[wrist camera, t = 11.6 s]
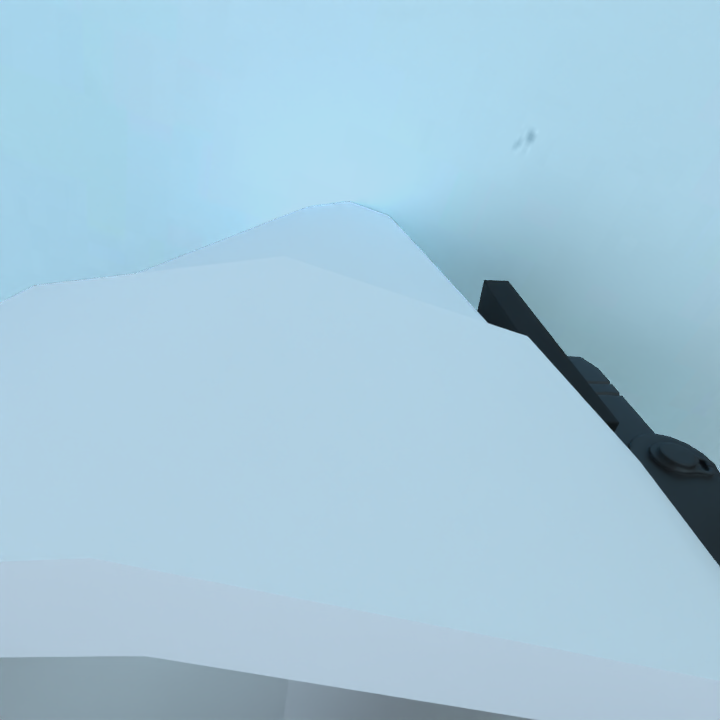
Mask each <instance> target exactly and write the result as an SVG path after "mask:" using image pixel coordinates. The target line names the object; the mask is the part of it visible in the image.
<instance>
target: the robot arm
mask: <svg viewBox="0 0 720 720" xmlns="http://www.w3.org/2000/svg"><path fill="white" fill-rule="evenodd" d="M477 312H478V313H479V314H480V315H481V316H482V317H483V318H484V319H485V320H486V321H487V323H489V324H492V325H495V326H498V327H501V328H504V329H507V330H510V331H513V332H516V333H519V334H522V335H525V336H528V337H529V338H530V339H531V341H532V342H533V343H534V344H535V345H536V346H537V347H538V348H539V349H540V351H541V352H542V353H543V354H544V355H545V356H546V357H547V358H548V359H549V361H550V362H551V363H552V364H553V365H554V366H555V367H556V368H557V369H558V371H559V372H560V373H561V374H562V375H563V376H564V377H565V378H566V380H567V381H568V382H569V383H570V384H571V385H572V386H573V387H574V388H575V390H576V391H577V392H578V393H579V394H580V395H581V396H582V397H583V398H584V400H585V401H586V402H587V403H588V404H589V405H590V406H591V407H592V409H593V410H594V411H595V412H596V413H597V414H598V415H599V416H600V417H601V419H602V420H603V421H604V422H605V423H606V424H607V425H608V426H609V427H610V429H611V430H612V431H613V432H614V433H615V434H616V435H617V436H618V438H619V439H620V440H621V441H622V442H623V443H624V444H625V445H626V446H627V448H628V449H629V450H630V451H631V452H632V453H633V454H634V455H635V456H636V458H637V459H638V460H639V461H640V462H641V464H642V465H643V466H644V468H645V469H646V470H647V471H648V473H649V474H650V475H651V477H652V478H653V479H654V481H655V482H656V483H657V485H658V486H659V487H660V489H661V490H662V491H663V493H664V494H665V495H666V497H667V498H668V499H669V501H670V502H671V503H672V504H673V506H674V507H675V508H676V510H677V511H678V512H679V514H680V515H681V516H682V518H683V519H684V520H685V522H686V523H687V524H688V526H689V527H690V528H691V530H692V531H693V532H694V533H695V535H696V536H697V537H698V539H699V540H700V541H701V543H702V544H703V545H704V547H705V548H706V549H707V551H708V552H709V553H710V555H711V556H712V557H713V559H714V560H715V561H716V562H717V564H718V565H719V566H720V473H719V471H718V469H717V467H716V466H715V464H714V463H713V462H711V461H710V460H709V459H708V458H707V457H706V456H705V455H704V454H703V453H701V452H700V451H698V450H696V449H695V448H693V447H691V446H690V445H688V444H686V443H684V442H681V441H679V440H677V439H674V438H672V437H668V436H664V435H659V434H655V433H654V432H653V431H652V430H651V429H650V427H649V426H648V425H647V424H646V423H645V422H644V421H643V419H642V418H641V417H640V416H639V415H638V414H637V412H636V411H635V410H634V409H633V408H632V407H631V406H630V404H629V403H628V402H627V401H626V400H625V399H624V398H623V396H620V395H619V392H618V391H617V389H616V388H615V387H614V386H613V385H611V384H610V381H609V380H608V379H607V378H606V377H605V376H604V375H603V373H602V372H601V371H600V370H599V369H598V368H597V367H595V366H594V365H592V364H591V363H589V362H587V361H586V360H584V359H583V358H581V357H571V356H567V355H566V354H565V353H564V352H563V350H562V349H561V348H560V346H559V345H558V344H557V343H556V341H555V340H554V339H553V338H552V336H551V335H550V334H549V332H548V331H547V330H546V329H545V327H544V326H543V325H542V324H541V322H540V321H539V320H538V318H537V317H536V316H535V315H534V313H533V312H532V311H531V310H530V308H529V307H528V306H527V304H526V303H525V302H524V301H523V299H522V298H521V297H520V296H519V294H518V293H517V292H516V290H515V289H514V288H513V287H512V285H511V284H510V283H509V282H508V281H492V280H484V284H483V288H482V293H481V298H480V302H479V307H478V311H477Z"/></svg>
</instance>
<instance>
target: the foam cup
mask: <svg viewBox="0 0 720 720" xmlns="http://www.w3.org/2000/svg"><path fill="white" fill-rule="evenodd" d="M0 720H720V566H719V565H718V564H717V562H716V561H715V560H714V559H713V557H712V556H711V555H710V553H709V552H708V551H707V549H706V548H705V547H704V545H703V544H702V543H701V541H700V540H699V539H698V537H697V536H696V535H695V533H694V532H693V531H692V530H691V528H690V527H689V526H688V524H687V523H686V522H685V520H684V519H683V518H682V516H681V515H680V514H679V512H678V511H677V510H676V508H675V507H674V506H673V504H672V503H671V502H670V501H669V499H668V498H667V497H666V495H665V494H664V493H663V491H662V490H661V489H660V487H659V486H658V485H657V483H656V482H655V481H654V479H653V478H652V477H651V475H650V474H649V473H648V471H647V470H646V469H645V468H644V466H643V465H642V464H641V462H640V461H639V460H638V459H637V458H636V456H635V455H634V454H633V453H632V452H631V451H630V450H629V449H628V448H627V446H626V445H625V444H624V443H623V442H622V441H621V440H620V439H619V438H618V436H617V435H616V434H615V433H614V432H613V431H612V430H611V429H610V427H609V426H608V425H607V424H606V423H605V422H604V421H603V420H602V419H601V417H600V416H599V415H598V414H597V413H596V412H595V411H594V410H593V409H592V407H591V406H590V405H589V404H588V403H587V402H586V401H585V400H584V398H583V397H582V396H581V395H580V394H579V393H578V392H577V391H576V390H575V388H574V387H573V386H572V385H571V384H570V383H569V382H568V381H567V380H566V378H565V377H564V376H563V375H562V374H561V373H560V372H559V371H558V369H557V368H556V367H555V366H554V365H553V364H552V363H551V362H550V361H549V359H548V358H547V357H546V356H545V355H544V354H543V353H542V352H541V351H540V349H539V348H538V347H537V346H536V345H535V344H534V343H533V342H532V341H531V339H530V338H529V337H528V336H525V335H522V334H519V333H516V332H513V331H510V330H507V329H504V328H501V327H498V326H495V325H492V324H489V323H487V321H486V320H485V319H484V318H483V317H482V316H481V315H480V314H479V313H478V312H477V311H476V309H475V308H474V307H473V306H472V305H471V304H470V303H469V302H468V301H467V300H466V298H465V297H464V296H463V295H462V294H461V293H460V292H459V291H458V290H457V289H456V287H455V286H454V285H453V284H452V283H451V282H450V281H449V280H448V279H447V278H446V277H445V275H444V274H443V273H442V272H441V271H440V270H439V269H438V268H437V267H436V266H435V264H434V263H433V262H432V261H431V260H430V259H429V258H428V257H427V256H426V255H425V253H424V252H423V251H422V250H421V249H420V248H419V247H418V246H417V245H416V244H415V243H414V242H413V241H412V239H411V238H410V237H409V236H408V235H407V234H406V233H405V232H404V231H403V230H402V229H401V228H400V227H399V226H398V225H397V223H396V222H395V221H394V220H393V219H392V218H391V217H389V216H388V215H386V214H383V213H380V212H377V211H375V210H372V209H369V208H366V207H363V206H361V205H358V204H355V203H352V202H350V201H348V202H341V203H333V204H325V205H317V206H310V207H306V208H302V209H300V210H297V211H295V212H292V213H289V214H287V215H284V216H282V217H279V218H277V219H274V220H271V221H269V222H266V223H264V224H261V225H259V226H256V227H254V228H251V229H248V230H246V231H243V232H241V233H238V234H236V235H233V236H231V237H228V238H225V239H223V240H220V241H218V242H215V243H213V244H210V245H207V246H205V247H202V248H200V249H197V250H195V251H192V252H190V253H187V254H184V255H182V256H179V257H177V258H174V259H172V260H169V261H167V262H164V263H161V264H159V265H156V266H154V267H151V268H149V269H146V270H144V271H141V272H138V273H134V274H126V275H117V276H109V277H100V278H92V279H83V280H75V281H66V282H57V283H49V284H40V285H34V286H32V287H30V288H28V289H26V290H24V291H22V292H20V293H18V294H16V295H14V296H12V297H10V298H8V299H6V300H4V301H2V302H0Z"/></svg>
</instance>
